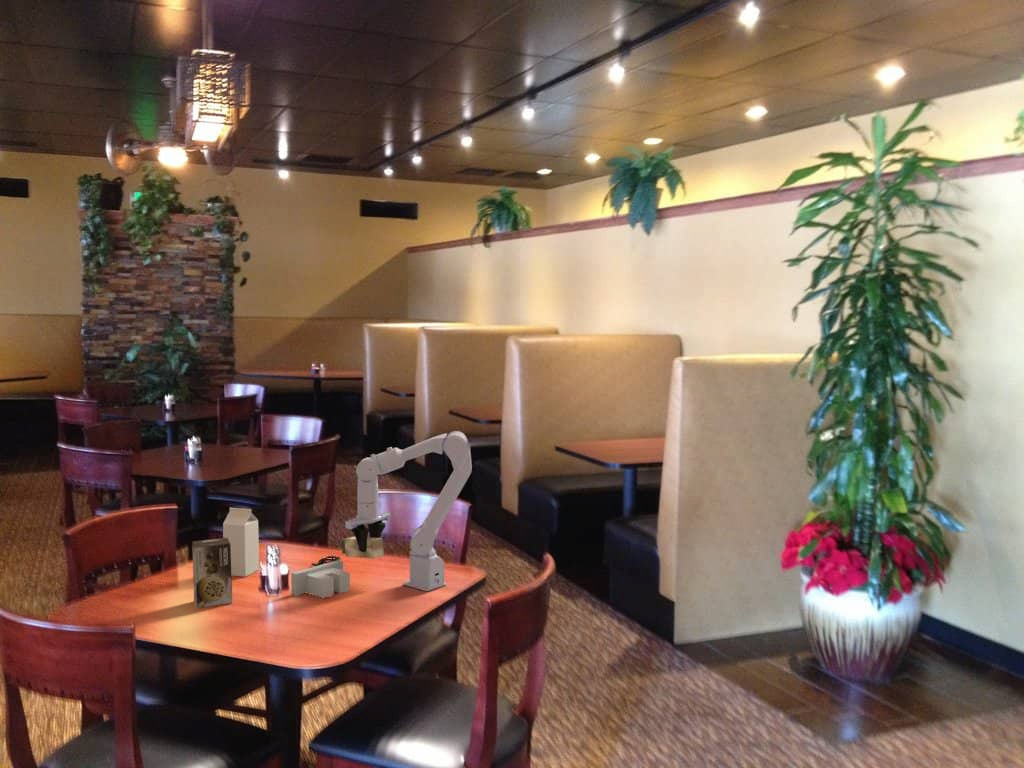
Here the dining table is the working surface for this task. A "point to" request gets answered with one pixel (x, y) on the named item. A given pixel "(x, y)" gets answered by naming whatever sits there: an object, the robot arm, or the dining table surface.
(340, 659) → the dining table surface
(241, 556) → the milk carton
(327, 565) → the grey stepped block
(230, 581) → the grey food box
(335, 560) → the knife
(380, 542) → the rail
